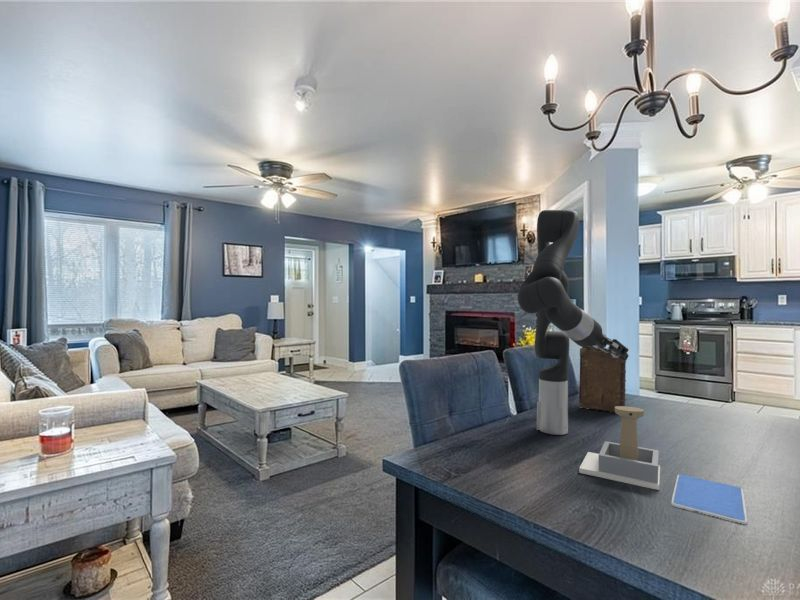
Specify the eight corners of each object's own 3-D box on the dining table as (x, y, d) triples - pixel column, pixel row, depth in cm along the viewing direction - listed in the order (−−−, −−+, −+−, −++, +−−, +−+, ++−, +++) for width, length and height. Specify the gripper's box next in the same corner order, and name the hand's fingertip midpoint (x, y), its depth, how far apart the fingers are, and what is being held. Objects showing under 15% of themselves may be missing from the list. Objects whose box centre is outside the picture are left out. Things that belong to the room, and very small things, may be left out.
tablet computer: (748, 529, 79) (748, 522, 79) (670, 508, 87) (670, 502, 87) (743, 493, 94) (743, 487, 94) (677, 478, 102) (677, 472, 102)
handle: (645, 474, 100) (645, 412, 100) (615, 470, 102) (616, 409, 102) (641, 466, 104) (641, 407, 104) (613, 463, 106) (613, 405, 107)
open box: (579, 472, 103) (579, 451, 103) (588, 456, 114) (588, 437, 114) (659, 490, 94) (659, 467, 94) (660, 470, 105) (660, 450, 105)
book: (626, 411, 163) (627, 349, 163) (624, 415, 157) (624, 350, 157) (581, 405, 173) (582, 346, 173) (577, 408, 167) (578, 347, 167)
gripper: (610, 320, 97) (642, 349, 105) (564, 307, 110) (595, 334, 118) (595, 347, 97) (628, 374, 105) (550, 331, 110) (583, 356, 117)
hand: (611, 353), depth 111 cm, fingers open, 8 cm apart
